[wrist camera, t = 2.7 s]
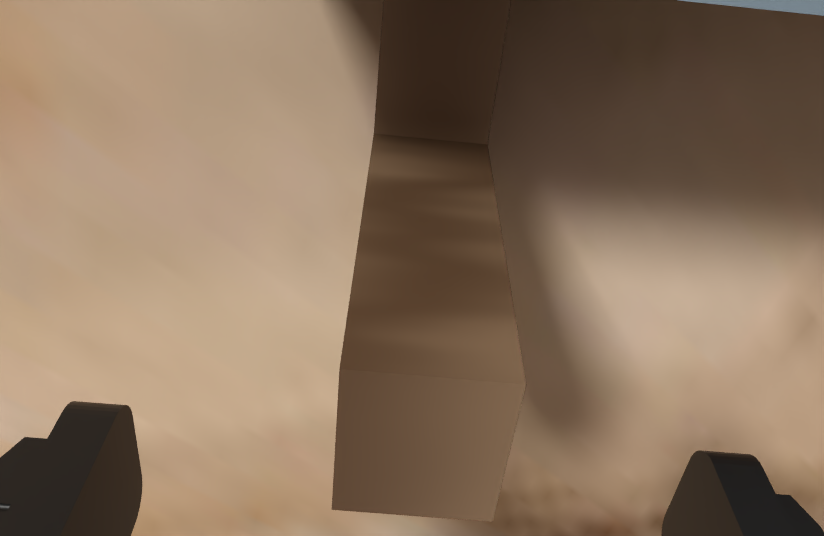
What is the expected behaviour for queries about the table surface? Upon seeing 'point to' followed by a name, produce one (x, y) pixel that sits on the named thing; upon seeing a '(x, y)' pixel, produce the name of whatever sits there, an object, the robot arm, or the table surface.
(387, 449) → the bent wooden plank
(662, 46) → the table surface
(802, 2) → the cubby
